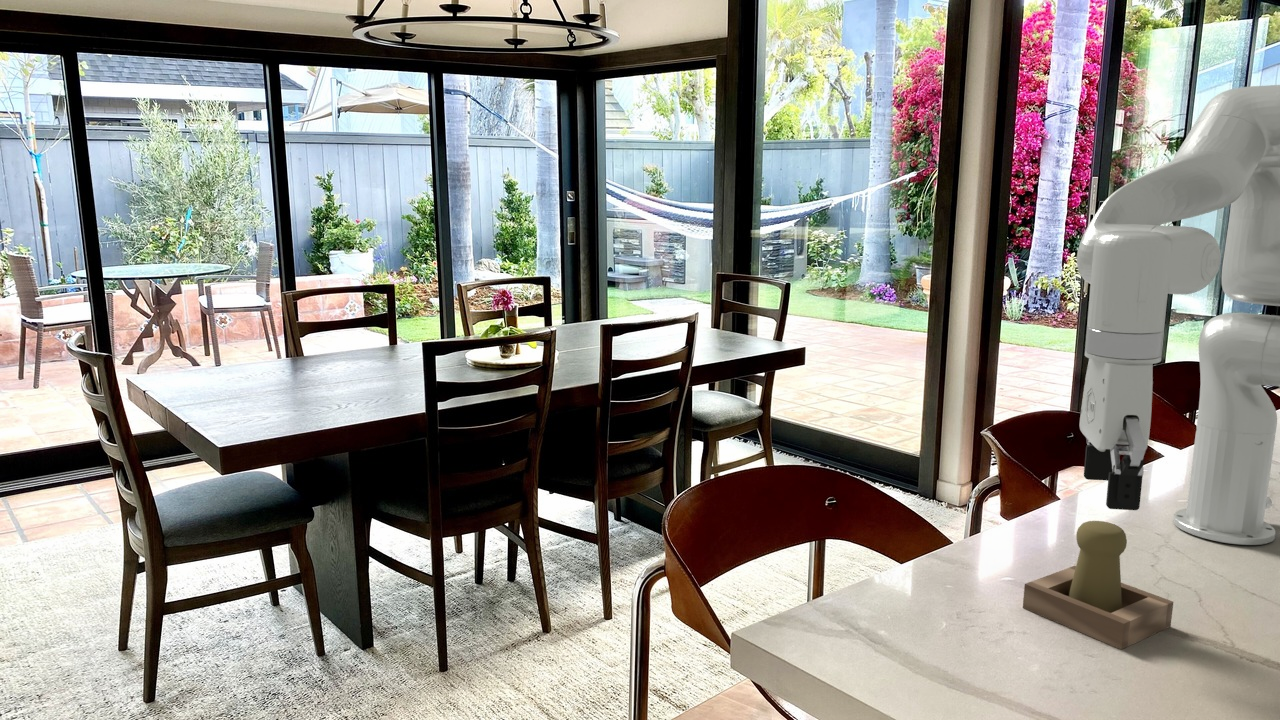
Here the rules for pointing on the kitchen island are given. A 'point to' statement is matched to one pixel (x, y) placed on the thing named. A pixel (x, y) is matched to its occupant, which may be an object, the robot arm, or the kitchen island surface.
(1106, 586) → the tan rounded tapered piece
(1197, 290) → the robot arm
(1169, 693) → the kitchen island surface
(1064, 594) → the walnut holder
